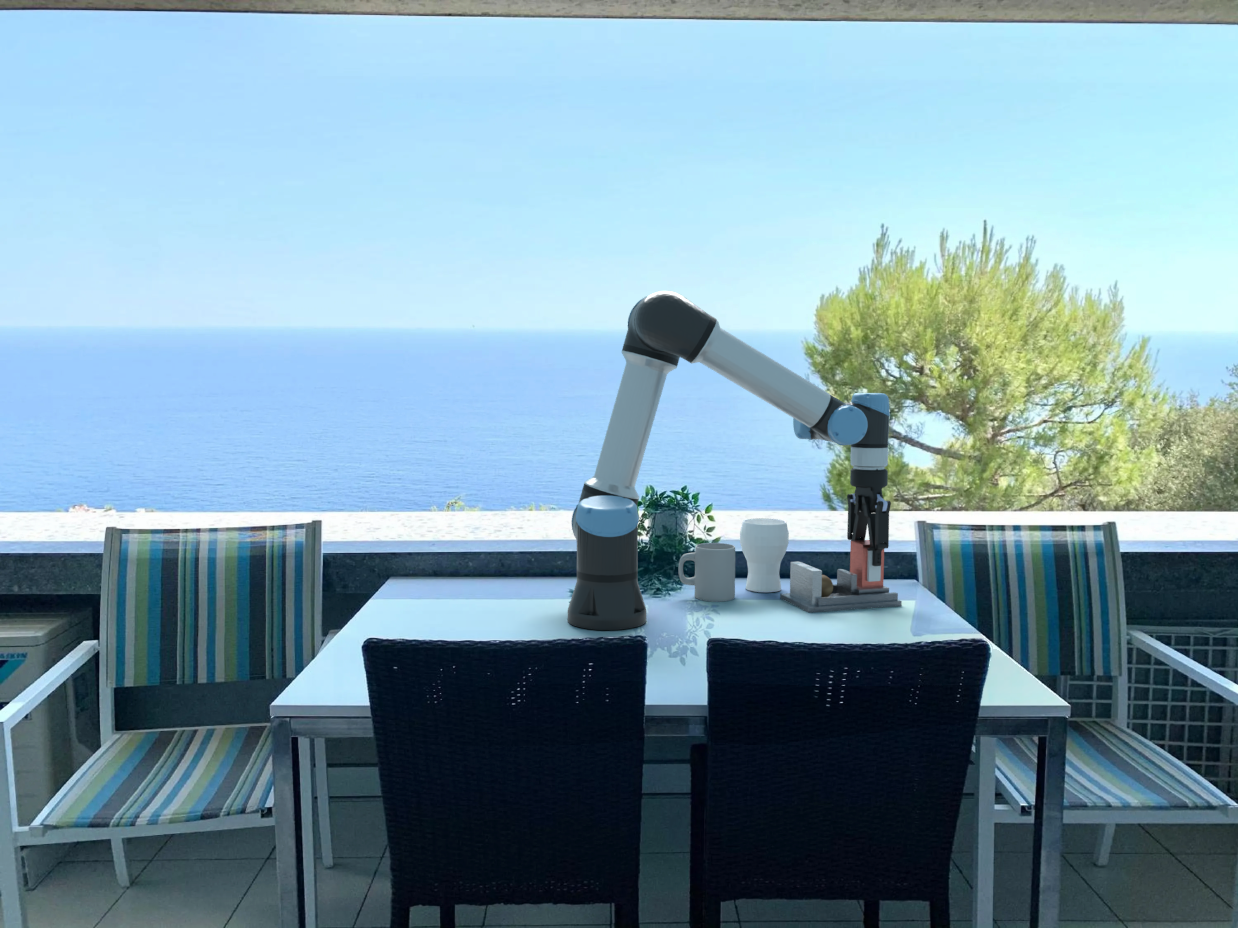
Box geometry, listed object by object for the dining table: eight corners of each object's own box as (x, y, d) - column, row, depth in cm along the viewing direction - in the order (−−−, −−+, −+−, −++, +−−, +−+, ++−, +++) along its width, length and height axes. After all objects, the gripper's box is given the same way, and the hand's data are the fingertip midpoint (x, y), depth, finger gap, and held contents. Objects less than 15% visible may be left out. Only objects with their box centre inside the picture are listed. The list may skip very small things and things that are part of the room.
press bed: (808, 612, 204) (809, 572, 203) (780, 598, 216) (780, 560, 216) (901, 605, 210) (902, 567, 209) (868, 592, 223) (869, 556, 222)
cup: (791, 594, 220) (792, 525, 219) (741, 594, 221) (742, 524, 219) (784, 584, 231) (785, 518, 229) (736, 583, 231) (737, 517, 230)
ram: (853, 599, 210) (854, 546, 209) (834, 591, 217) (835, 540, 216) (888, 597, 212) (890, 544, 211) (868, 589, 220) (870, 538, 219)
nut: (815, 602, 209) (815, 577, 208) (804, 596, 214) (804, 573, 213) (837, 600, 210) (837, 576, 210) (825, 595, 215) (826, 571, 215)
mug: (732, 592, 222) (733, 542, 221) (736, 601, 213) (737, 549, 212) (677, 592, 222) (677, 542, 221) (679, 601, 213) (679, 549, 212)
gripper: (909, 471, 205) (906, 585, 207) (862, 463, 222) (860, 569, 224) (876, 472, 203) (873, 588, 205) (831, 464, 220) (829, 570, 222)
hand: (866, 577), depth 215 cm, fingers closed on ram, 5 cm apart
